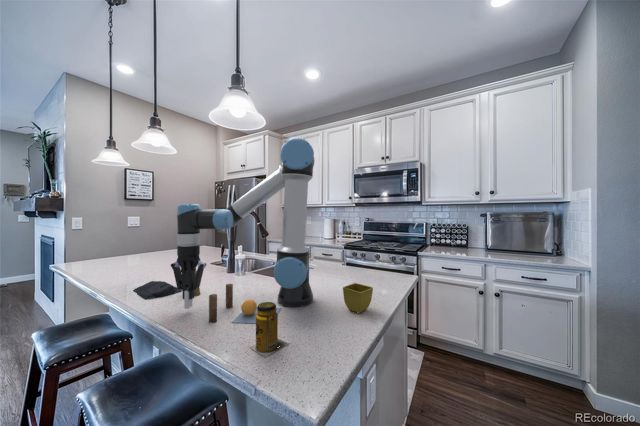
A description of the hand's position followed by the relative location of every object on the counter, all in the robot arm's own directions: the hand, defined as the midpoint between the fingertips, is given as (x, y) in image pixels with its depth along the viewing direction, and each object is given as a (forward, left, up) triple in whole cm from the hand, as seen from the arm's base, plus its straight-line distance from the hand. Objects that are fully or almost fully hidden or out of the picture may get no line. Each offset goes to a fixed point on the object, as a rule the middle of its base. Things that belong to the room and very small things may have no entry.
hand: (188, 307), depth 93 cm
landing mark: (-27, 0, -2) cm, 27 cm away
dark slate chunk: (+30, -22, -3) cm, 37 cm away
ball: (-23, 0, +1) cm, 24 cm away
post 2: (-13, -6, -2) cm, 15 cm away
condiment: (-37, +20, -2) cm, 42 cm away
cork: (+10, -19, -2) cm, 22 cm away
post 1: (-13, +6, -2) cm, 15 cm away
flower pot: (-64, -8, -2) cm, 65 cm away
